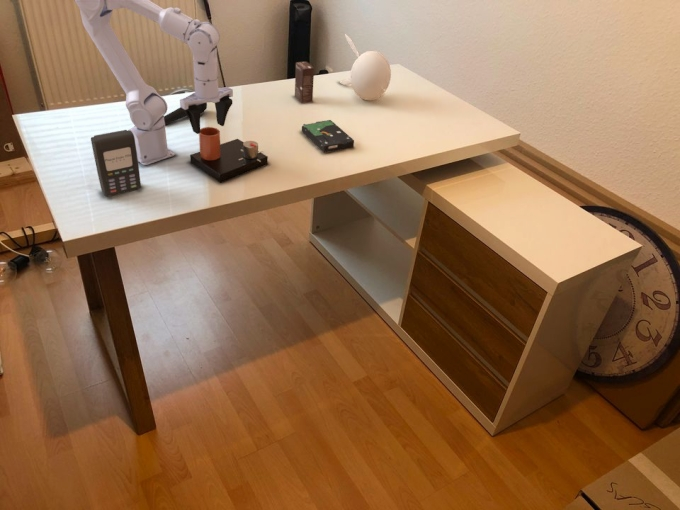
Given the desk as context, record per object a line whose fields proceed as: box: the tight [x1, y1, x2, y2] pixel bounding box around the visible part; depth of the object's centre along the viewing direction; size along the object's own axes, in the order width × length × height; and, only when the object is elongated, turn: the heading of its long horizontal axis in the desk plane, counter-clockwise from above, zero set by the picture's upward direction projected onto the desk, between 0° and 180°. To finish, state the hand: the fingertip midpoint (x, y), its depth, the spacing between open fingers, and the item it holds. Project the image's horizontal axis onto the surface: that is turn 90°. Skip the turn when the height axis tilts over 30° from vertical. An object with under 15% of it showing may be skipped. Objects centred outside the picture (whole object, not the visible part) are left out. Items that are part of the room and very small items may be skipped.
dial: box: [243, 140, 259, 159], centre depth 149 cm, size 4×4×4 cm
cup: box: [198, 126, 221, 160], centre depth 146 cm, size 5×5×7 cm
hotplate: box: [189, 138, 269, 184], centre depth 149 cm, size 17×14×3 cm
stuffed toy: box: [339, 33, 392, 101], centre depth 192 cm, size 19×14×25 cm
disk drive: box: [301, 119, 355, 153], centre depth 166 cm, size 10×3×15 cm
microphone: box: [164, 102, 208, 126], centre depth 167 cm, size 6×6×20 cm
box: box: [294, 61, 315, 104], centre depth 185 cm, size 6×4×12 cm
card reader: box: [90, 129, 142, 197], centre depth 130 cm, size 9×4×15 cm, turn 126°
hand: (208, 128), depth 143 cm, fingers open, 7 cm apart
